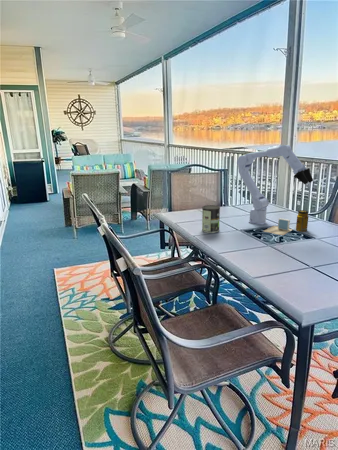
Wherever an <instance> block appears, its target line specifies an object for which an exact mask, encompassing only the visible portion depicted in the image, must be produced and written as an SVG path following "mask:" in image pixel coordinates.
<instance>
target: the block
mask: <svg viewBox="0 0 338 450" xmlns="http://www.w3.org/2000/svg"><path fill="white" fill-rule="evenodd" d="M290 222H291V219H287V218H278V223H277V227H278V229H283V230H289V229H290V224H291V223H290Z"/></svg>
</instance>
